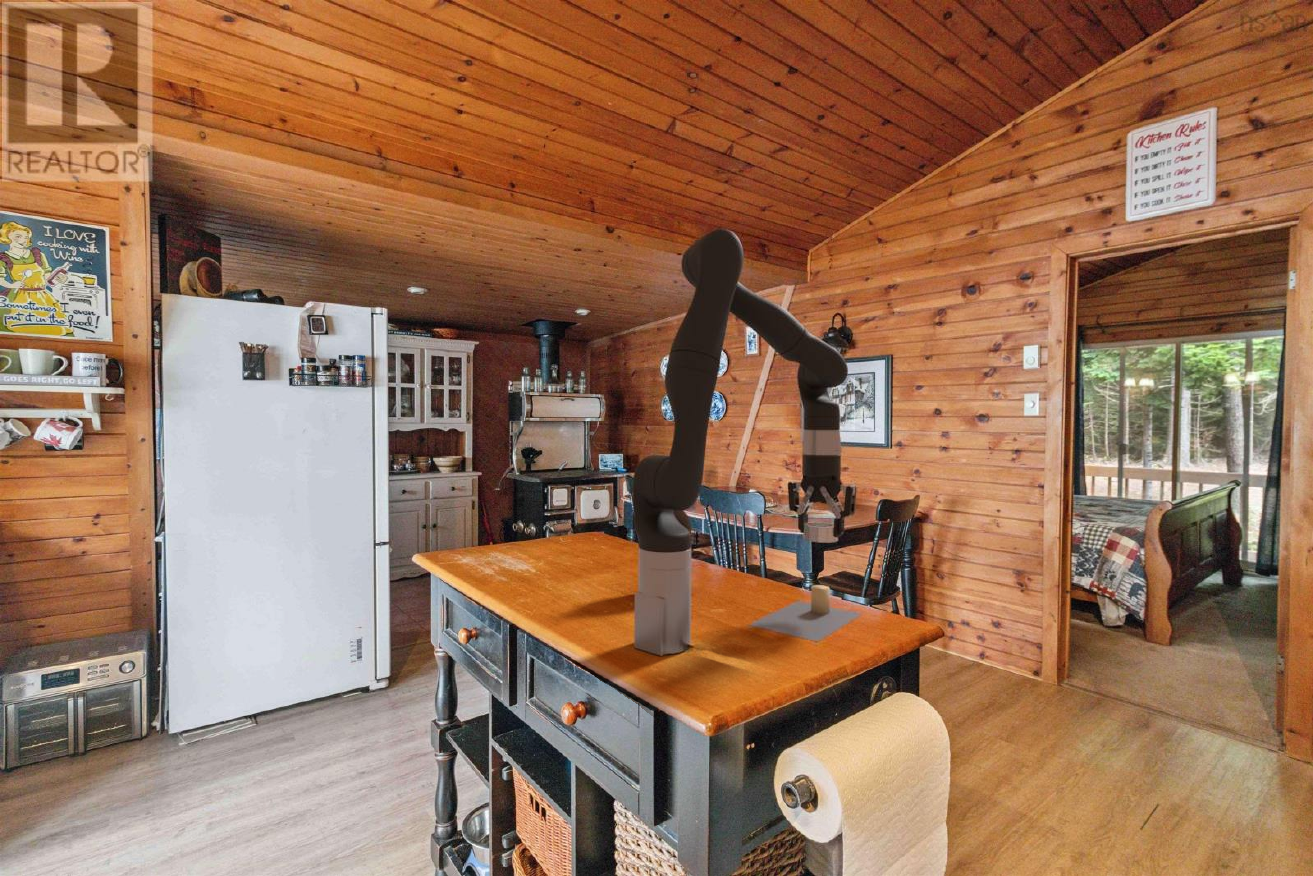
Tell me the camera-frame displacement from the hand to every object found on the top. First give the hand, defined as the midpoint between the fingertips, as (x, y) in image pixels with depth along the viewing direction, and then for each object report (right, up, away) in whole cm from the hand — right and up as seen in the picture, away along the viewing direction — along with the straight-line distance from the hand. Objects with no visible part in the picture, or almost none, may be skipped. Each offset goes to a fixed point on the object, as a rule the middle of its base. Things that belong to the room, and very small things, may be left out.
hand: (820, 534), depth 122 cm
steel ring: (0, -1, 0) cm, 1 cm away
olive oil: (-31, -17, +16) cm, 39 cm away
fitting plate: (-4, -17, -4) cm, 18 cm away
